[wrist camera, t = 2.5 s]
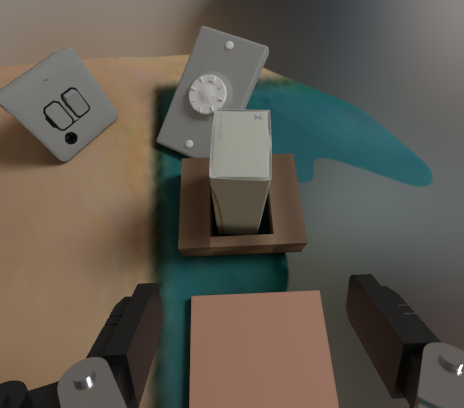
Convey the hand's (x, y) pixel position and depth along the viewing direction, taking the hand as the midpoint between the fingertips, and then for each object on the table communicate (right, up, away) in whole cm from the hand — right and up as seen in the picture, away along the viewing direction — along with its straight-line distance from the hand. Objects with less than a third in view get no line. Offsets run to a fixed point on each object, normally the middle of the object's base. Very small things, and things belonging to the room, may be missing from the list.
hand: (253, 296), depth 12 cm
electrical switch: (-20, +13, +25) cm, 35 cm away
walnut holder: (0, +3, +19) cm, 19 cm away
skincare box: (0, +3, +19) cm, 20 cm away
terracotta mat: (+2, -10, +13) cm, 17 cm away
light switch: (-3, +15, +25) cm, 29 cm away
